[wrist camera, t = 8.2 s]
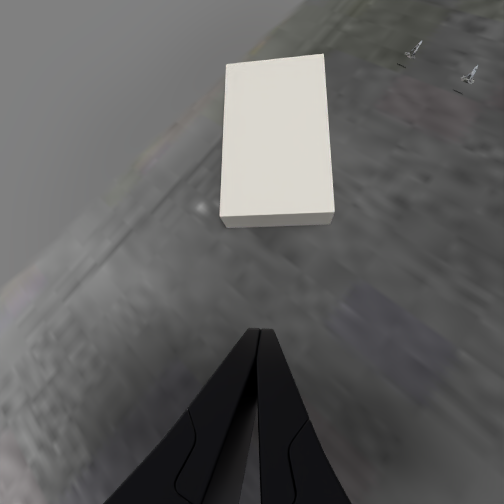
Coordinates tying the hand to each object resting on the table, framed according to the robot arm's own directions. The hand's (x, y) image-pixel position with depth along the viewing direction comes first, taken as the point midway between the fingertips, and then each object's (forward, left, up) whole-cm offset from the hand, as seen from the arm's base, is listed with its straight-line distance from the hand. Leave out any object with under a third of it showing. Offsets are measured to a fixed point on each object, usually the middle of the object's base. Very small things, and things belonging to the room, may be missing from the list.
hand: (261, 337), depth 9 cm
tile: (+6, +4, -7) cm, 10 cm away
